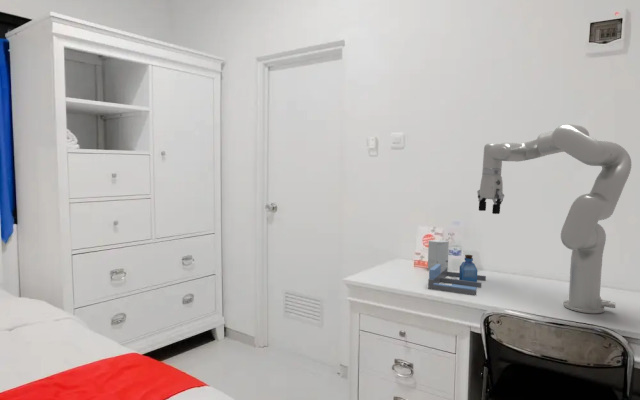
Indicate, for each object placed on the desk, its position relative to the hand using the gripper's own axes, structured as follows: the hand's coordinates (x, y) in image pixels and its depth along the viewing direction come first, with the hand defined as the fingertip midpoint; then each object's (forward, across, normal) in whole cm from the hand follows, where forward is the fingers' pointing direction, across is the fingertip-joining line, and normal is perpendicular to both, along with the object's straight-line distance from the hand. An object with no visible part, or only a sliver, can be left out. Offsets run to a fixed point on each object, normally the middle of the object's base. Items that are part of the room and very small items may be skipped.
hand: (488, 212), depth 186 cm
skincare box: (+33, +26, +8) cm, 42 cm away
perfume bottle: (+32, +3, +6) cm, 33 cm away
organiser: (+32, 0, +13) cm, 34 cm away
